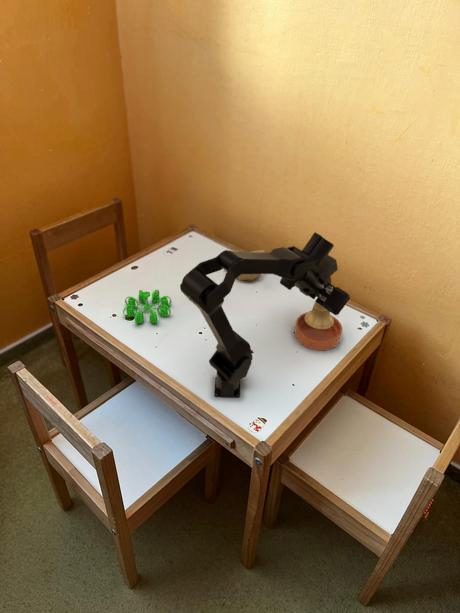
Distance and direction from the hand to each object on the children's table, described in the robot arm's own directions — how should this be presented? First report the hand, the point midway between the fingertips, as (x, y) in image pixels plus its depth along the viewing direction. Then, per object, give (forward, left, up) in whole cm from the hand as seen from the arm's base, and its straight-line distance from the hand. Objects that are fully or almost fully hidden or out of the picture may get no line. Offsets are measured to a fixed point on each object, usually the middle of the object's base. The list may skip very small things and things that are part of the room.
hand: (326, 297), depth 129 cm
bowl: (-1, +1, -13) cm, 13 cm away
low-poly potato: (+28, +22, -13) cm, 38 cm away
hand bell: (-1, +1, -8) cm, 8 cm away
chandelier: (+6, +51, -13) cm, 53 cm away
